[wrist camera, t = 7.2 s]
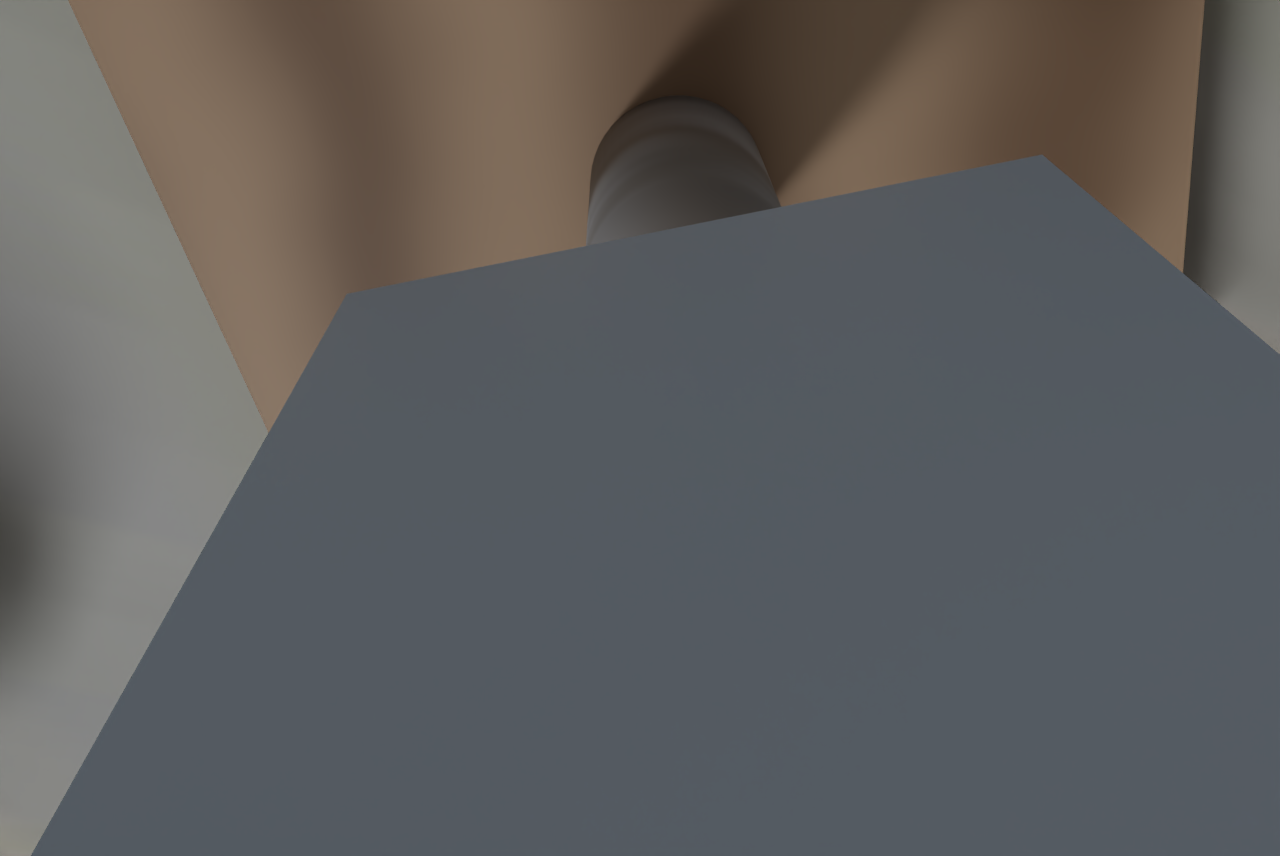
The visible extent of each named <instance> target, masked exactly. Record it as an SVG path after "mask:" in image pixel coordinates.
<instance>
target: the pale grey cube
mask: <svg viewBox="0 0 1280 856" xmlns="http://www.w3.org/2000/svg"><path fill="white" fill-rule="evenodd" d="M31 856H1280V355H1279V354H1278V353H1277V352H1276V351H1275V350H1273V349H1272V348H1271V347H1270V346H1269V345H1268V344H1266V343H1265V342H1264V341H1263V340H1262V339H1260V338H1259V337H1258V336H1257V335H1256V334H1254V333H1253V332H1252V331H1251V330H1250V329H1249V328H1247V327H1246V326H1245V325H1244V324H1243V323H1241V322H1240V321H1239V320H1238V319H1237V318H1235V317H1234V316H1233V315H1232V314H1231V313H1230V312H1228V311H1227V310H1226V309H1225V308H1224V307H1222V306H1221V305H1220V304H1219V303H1218V302H1217V301H1215V300H1214V299H1213V298H1212V297H1211V296H1209V295H1208V294H1207V293H1206V292H1205V291H1203V290H1202V289H1201V288H1200V287H1199V286H1198V285H1196V284H1195V283H1194V282H1193V281H1192V280H1190V279H1189V278H1188V277H1187V276H1186V275H1184V274H1183V273H1182V272H1181V271H1180V270H1179V269H1177V268H1176V267H1175V266H1174V265H1173V264H1171V263H1170V262H1169V261H1168V260H1167V259H1165V258H1164V257H1163V256H1162V255H1161V254H1160V253H1158V252H1157V251H1156V250H1155V249H1154V248H1152V247H1151V246H1150V245H1149V244H1148V243H1146V242H1145V241H1144V240H1143V239H1142V238H1141V237H1139V236H1138V235H1137V234H1136V233H1135V232H1133V231H1132V230H1131V229H1130V228H1129V227H1127V226H1126V225H1125V224H1124V223H1123V222H1122V221H1120V220H1119V219H1118V218H1117V217H1116V216H1114V215H1113V214H1112V213H1111V212H1110V211H1109V210H1107V209H1106V208H1105V207H1104V206H1103V205H1101V204H1100V203H1099V202H1098V201H1097V200H1095V199H1094V198H1093V197H1092V196H1091V195H1090V194H1088V193H1087V192H1086V191H1085V190H1084V189H1082V188H1081V187H1080V186H1079V185H1078V184H1076V183H1075V182H1074V181H1073V180H1072V179H1071V178H1069V177H1068V176H1067V175H1066V174H1065V173H1063V172H1062V171H1061V170H1060V169H1059V168H1057V167H1056V166H1055V165H1054V164H1053V163H1052V162H1050V161H1049V160H1048V159H1047V158H1046V157H1044V156H1043V155H1038V156H1033V157H1028V158H1023V159H1018V160H1013V161H1008V162H1003V163H998V164H993V165H988V166H983V167H978V168H973V169H968V170H963V171H958V172H953V173H948V174H943V175H938V176H933V177H928V178H923V179H918V180H913V181H908V182H903V183H898V184H893V185H888V186H883V187H878V188H873V189H868V190H863V191H858V192H853V193H848V194H843V195H838V196H833V197H828V198H823V199H818V200H813V201H808V202H803V203H798V204H793V205H788V206H783V207H778V208H773V209H768V210H763V211H758V212H753V213H748V214H743V215H738V216H733V217H728V218H723V219H718V220H713V221H708V222H703V223H698V224H693V225H688V226H683V227H678V228H673V229H668V230H663V231H658V232H653V233H648V234H643V235H638V236H633V237H628V238H623V239H618V240H613V241H608V242H603V243H598V244H593V245H588V246H583V247H578V248H573V249H568V250H563V251H558V252H553V253H548V254H543V255H538V256H533V257H528V258H523V259H518V260H513V261H508V262H503V263H498V264H493V265H488V266H483V267H478V268H473V269H468V270H463V271H458V272H454V273H449V274H444V275H439V276H434V277H429V278H424V279H419V280H414V281H409V282H404V283H399V284H394V285H389V286H384V287H379V288H374V289H369V290H364V291H359V292H354V293H349V294H346V296H345V298H344V300H343V302H342V303H341V305H340V307H339V309H338V310H337V312H336V314H335V316H334V318H333V319H332V321H331V323H330V325H329V326H328V328H327V330H326V332H325V334H324V335H323V337H322V339H321V341H320V342H319V344H318V346H317V348H316V350H315V351H314V353H313V355H312V357H311V358H310V360H309V362H308V364H307V366H306V367H305V369H304V371H303V373H302V374H301V376H300V378H299V380H298V382H297V383H296V385H295V387H294V389H293V390H292V392H291V394H290V396H289V398H288V399H287V401H286V403H285V405H284V406H283V408H282V410H281V412H280V414H279V415H278V417H277V419H276V421H275V423H274V424H273V426H272V428H271V430H270V431H269V433H268V435H267V437H266V439H265V440H264V442H263V444H262V446H261V447H260V449H259V451H258V453H257V455H256V456H255V458H254V460H253V462H252V463H251V465H250V467H249V469H248V471H247V472H246V474H245V476H244V478H243V479H242V481H241V483H240V485H239V487H238V488H237V490H236V492H235V494H234V495H233V497H232V499H231V501H230V503H229V504H228V506H227V508H226V510H225V511H224V513H223V515H222V517H221V519H220V520H219V522H218V524H217V526H216V527H215V529H214V531H213V533H212V535H211V536H210V538H209V540H208V542H207V543H206V545H205V547H204V549H203V551H202V552H201V554H200V556H199V558H198V559H197V561H196V563H195V565H194V567H193V568H192V570H191V572H190V574H189V576H188V577H187V579H186V581H185V583H184V584H183V586H182V588H181V590H180V592H179V593H178V595H177V597H176V599H175V600H174V602H173V604H172V606H171V608H170V609H169V611H168V613H167V615H166V616H165V618H164V620H163V622H162V624H161V625H160V627H159V629H158V631H157V632H156V634H155V636H154V638H153V640H152V641H151V643H150V645H149V647H148V648H147V650H146V652H145V654H144V656H143V657H142V659H141V661H140V663H139V664H138V666H137V668H136V670H135V672H134V673H133V675H132V677H131V679H130V680H129V682H128V684H127V686H126V688H125V689H124V691H123V693H122V695H121V696H120V698H119V700H118V702H117V704H116V705H115V707H114V709H113V711H112V712H111V714H110V716H109V718H108V720H107V721H106V723H105V725H104V727H103V729H102V730H101V732H100V734H99V736H98V737H97V739H96V741H95V743H94V745H93V746H92V748H91V750H90V752H89V753H88V755H87V757H86V759H85V761H84V762H83V764H82V766H81V768H80V769H79V771H78V773H77V775H76V777H75V778H74V780H73V782H72V784H71V785H70V787H69V789H68V791H67V793H66V794H65V796H64V798H63V800H62V801H61V803H60V805H59V807H58V809H57V810H56V812H55V814H54V816H53V817H52V819H51V821H50V823H49V825H48V826H47V828H46V830H45V832H44V833H43V835H42V837H41V839H40V841H39V842H38V844H37V846H36V848H35V849H34V851H33V853H32V855H31Z"/></svg>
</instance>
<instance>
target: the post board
mask: <svg viewBox="0 0 1280 856" xmlns="http://www.w3.org/2000/svg"><path fill="white" fill-rule="evenodd" d="M68 1H69V3H70V5H71V7H72V9H73V12H74V14H75V16H76V18H77V20H78V22H79V25H80V27H81V29H82V31H83V33H84V35H85V38H86V40H87V42H88V44H89V46H90V48H91V50H92V53H93V55H94V57H95V59H96V61H97V63H98V66H99V68H100V70H101V72H102V74H103V76H104V78H105V81H106V83H107V85H108V87H109V89H110V91H111V94H112V96H113V98H114V100H115V102H116V104H117V107H118V109H119V111H120V113H121V115H122V117H123V119H124V122H125V124H126V126H127V128H128V130H129V132H130V135H131V137H132V139H133V141H134V143H135V145H136V148H137V150H138V152H139V154H140V156H141V158H142V160H143V163H144V165H145V167H146V169H147V171H148V173H149V176H150V178H151V180H152V182H153V184H154V186H155V188H156V191H157V193H158V195H159V197H160V199H161V201H162V204H163V206H164V208H165V210H166V212H167V214H168V217H169V219H170V221H171V223H172V225H173V227H174V229H175V232H176V234H177V236H178V238H179V240H180V242H181V245H182V247H183V249H184V251H185V253H186V255H187V257H188V260H189V262H190V264H191V266H192V268H193V270H194V273H195V275H196V277H197V279H198V281H199V283H200V286H201V288H202V290H203V292H204V294H205V296H206V298H207V301H208V303H209V305H210V307H211V309H212V311H213V314H214V316H215V318H216V320H217V322H218V324H219V327H220V329H221V331H222V333H223V335H224V337H225V339H226V342H227V344H228V346H229V348H230V350H231V352H232V355H233V357H234V359H235V361H236V363H237V365H238V367H239V370H240V372H241V374H242V376H243V378H244V380H245V383H246V385H247V387H248V389H249V391H250V393H251V396H252V398H253V400H254V402H255V404H256V406H257V408H258V411H259V413H260V415H261V417H262V419H263V421H264V424H265V426H266V428H267V430H268V432H269V431H270V430H271V428H272V426H273V424H274V423H275V421H276V419H277V417H278V415H279V414H280V412H281V410H282V408H283V406H284V405H285V403H286V401H287V399H288V398H289V396H290V394H291V392H292V390H293V389H294V387H295V385H296V383H297V382H298V380H299V378H300V376H301V374H302V373H303V371H304V369H305V367H306V366H307V364H308V362H309V360H310V358H311V357H312V355H313V353H314V351H315V350H316V348H317V346H318V344H319V342H320V341H321V339H322V337H323V335H324V334H325V332H326V330H327V328H328V326H329V325H330V323H331V321H332V319H333V318H334V316H335V314H336V312H337V310H338V309H339V307H340V305H341V303H342V302H343V300H344V298H345V296H346V294H349V293H354V292H359V291H364V290H369V289H374V288H379V287H384V286H389V285H394V284H399V283H404V282H409V281H414V280H419V279H424V278H429V277H434V276H439V275H444V274H449V273H454V272H458V271H463V270H468V269H473V268H478V267H483V266H488V265H493V264H498V263H503V262H508V261H513V260H518V259H523V258H528V257H533V256H538V255H543V254H548V253H553V252H558V251H563V250H568V249H573V248H578V247H583V246H588V245H593V244H598V243H603V242H608V241H613V240H618V239H623V238H628V237H633V236H638V235H643V234H648V233H653V232H658V231H663V230H668V229H673V228H678V227H683V226H688V225H693V224H698V223H703V222H708V221H713V220H718V219H723V218H728V217H733V216H738V215H743V214H748V213H753V212H758V211H763V210H768V209H773V208H778V207H783V206H788V205H793V204H798V203H803V202H808V201H813V200H818V199H823V198H828V197H833V196H838V195H843V194H848V193H853V192H858V191H863V190H868V189H873V188H878V187H883V186H888V185H893V184H898V183H903V182H908V181H913V180H918V179H923V178H928V177H933V176H938V175H943V174H948V173H953V172H958V171H963V170H968V169H973V168H978V167H983V166H988V165H993V164H998V163H1003V162H1008V161H1013V160H1018V159H1023V158H1028V157H1033V156H1038V155H1043V156H1044V157H1046V158H1047V159H1048V160H1049V161H1050V162H1052V163H1053V164H1054V165H1055V166H1056V167H1057V168H1059V169H1060V170H1061V171H1062V172H1063V173H1065V174H1066V175H1067V176H1068V177H1069V178H1071V179H1072V180H1073V181H1074V182H1075V183H1076V184H1078V185H1079V186H1080V187H1081V188H1082V189H1084V190H1085V191H1086V192H1087V193H1088V194H1090V195H1091V196H1092V197H1093V198H1094V199H1095V200H1097V201H1098V202H1099V203H1100V204H1101V205H1103V206H1104V207H1105V208H1106V209H1107V210H1109V211H1110V212H1111V213H1112V214H1113V215H1114V216H1116V217H1117V218H1118V219H1119V220H1120V221H1122V222H1123V223H1124V224H1125V225H1126V226H1127V227H1129V228H1130V229H1131V230H1132V231H1133V232H1135V233H1136V234H1137V235H1138V236H1139V237H1141V238H1142V239H1143V240H1144V241H1145V242H1146V243H1148V244H1149V245H1150V246H1151V247H1152V248H1154V249H1155V250H1156V251H1157V252H1158V253H1160V254H1161V255H1162V256H1163V257H1164V258H1165V259H1167V260H1168V261H1169V262H1170V263H1171V264H1173V265H1174V266H1175V267H1176V268H1177V269H1179V270H1180V271H1181V272H1182V273H1183V266H1184V253H1185V241H1186V228H1187V216H1188V203H1189V191H1190V178H1191V166H1192V153H1193V141H1194V128H1195V116H1196V103H1197V91H1198V78H1199V66H1200V53H1201V41H1202V28H1203V16H1204V3H1205V0H68Z"/></svg>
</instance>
